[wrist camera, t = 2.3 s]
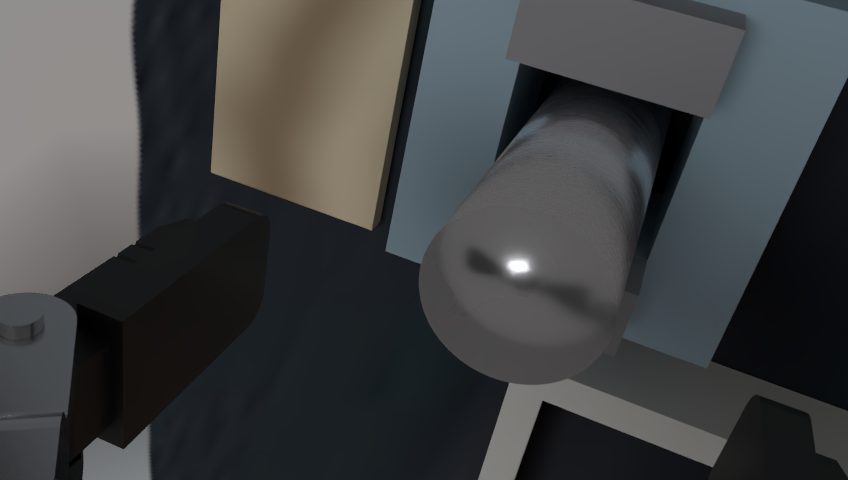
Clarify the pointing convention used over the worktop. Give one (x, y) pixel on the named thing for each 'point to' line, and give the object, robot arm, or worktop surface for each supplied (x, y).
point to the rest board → (313, 99)
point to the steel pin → (547, 238)
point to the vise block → (655, 82)
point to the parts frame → (655, 407)
